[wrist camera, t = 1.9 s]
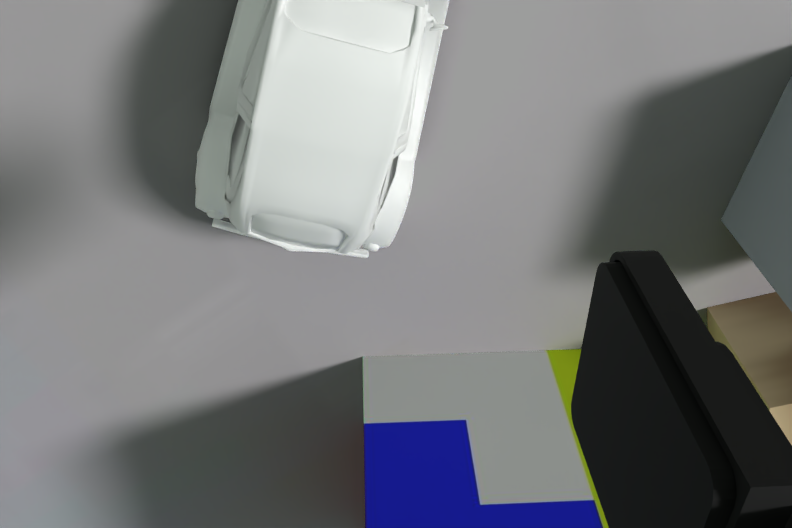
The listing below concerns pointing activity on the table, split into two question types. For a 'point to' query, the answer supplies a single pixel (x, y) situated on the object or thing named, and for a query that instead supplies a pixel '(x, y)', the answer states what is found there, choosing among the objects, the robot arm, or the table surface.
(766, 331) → the oak block
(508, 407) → the puzzle toy
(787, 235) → the slate block
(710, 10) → the table surface
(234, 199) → the car
